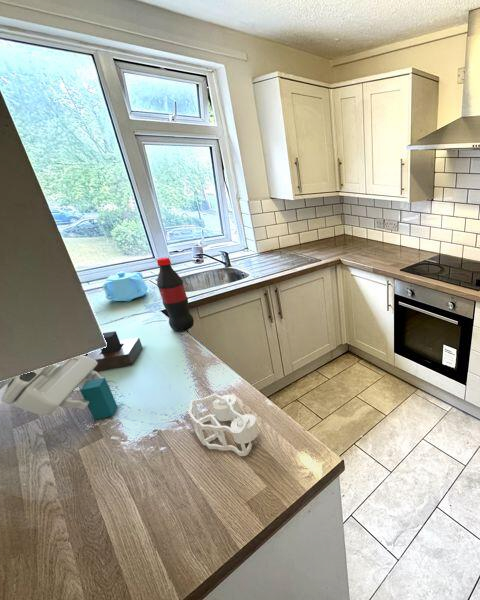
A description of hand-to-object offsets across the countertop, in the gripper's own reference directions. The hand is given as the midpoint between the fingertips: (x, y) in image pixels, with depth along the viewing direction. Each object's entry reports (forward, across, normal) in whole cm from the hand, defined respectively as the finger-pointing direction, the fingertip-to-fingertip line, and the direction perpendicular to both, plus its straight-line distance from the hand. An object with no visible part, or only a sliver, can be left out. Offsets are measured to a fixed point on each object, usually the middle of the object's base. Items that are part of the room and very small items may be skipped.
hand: (96, 394), depth 88 cm
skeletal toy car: (+29, +18, +19) cm, 39 cm away
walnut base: (-5, -30, -14) cm, 33 cm away
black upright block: (-2, -30, -11) cm, 32 cm away
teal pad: (+5, 0, -4) cm, 7 cm away
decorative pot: (-16, -95, -25) cm, 99 cm away
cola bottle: (+10, -50, 0) cm, 51 cm away
